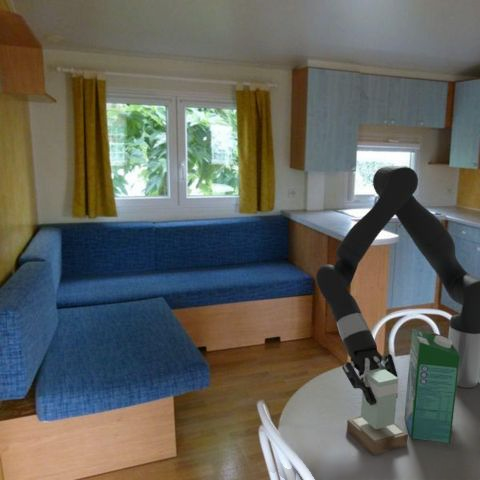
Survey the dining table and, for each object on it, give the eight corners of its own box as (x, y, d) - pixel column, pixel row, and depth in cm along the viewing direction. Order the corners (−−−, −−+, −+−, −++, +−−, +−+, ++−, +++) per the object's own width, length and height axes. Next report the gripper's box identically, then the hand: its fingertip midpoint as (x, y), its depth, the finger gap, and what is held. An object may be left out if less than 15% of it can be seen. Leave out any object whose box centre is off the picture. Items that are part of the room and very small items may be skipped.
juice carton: (378, 411, 107) (382, 367, 104) (394, 424, 102) (398, 378, 99) (360, 416, 105) (363, 371, 102) (375, 429, 99) (379, 382, 97)
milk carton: (450, 443, 102) (461, 346, 97) (410, 438, 104) (419, 342, 99) (440, 421, 111) (450, 331, 106) (404, 416, 112) (412, 328, 108)
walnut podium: (379, 421, 110) (379, 410, 110) (407, 445, 101) (408, 433, 101) (346, 430, 107) (347, 418, 106) (373, 455, 98) (374, 443, 97)
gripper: (339, 333, 103) (367, 403, 95) (386, 325, 109) (417, 391, 100) (325, 344, 109) (351, 412, 101) (371, 336, 115) (399, 400, 106)
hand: (384, 401), depth 100 cm, fingers closed on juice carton, 5 cm apart
